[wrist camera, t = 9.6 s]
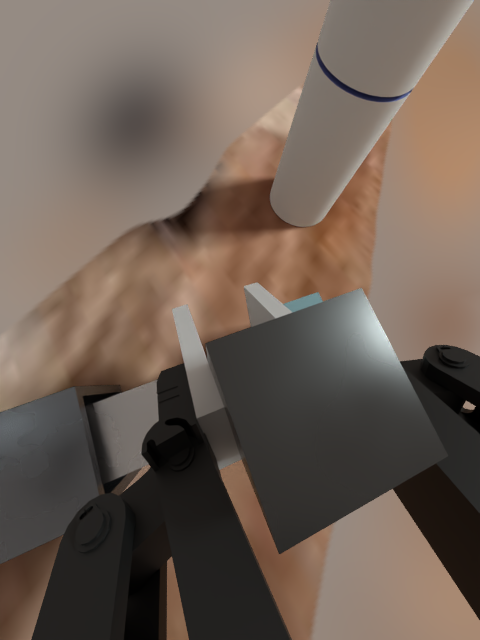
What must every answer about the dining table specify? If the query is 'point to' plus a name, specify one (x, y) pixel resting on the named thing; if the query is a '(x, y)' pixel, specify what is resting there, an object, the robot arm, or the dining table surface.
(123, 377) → the dining table surface
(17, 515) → the matte charcoal box
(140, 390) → the gray bar with post
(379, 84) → the cylindrical container
